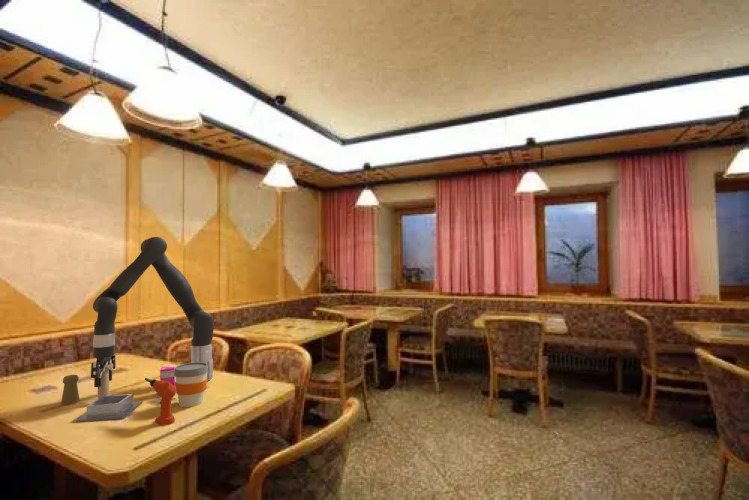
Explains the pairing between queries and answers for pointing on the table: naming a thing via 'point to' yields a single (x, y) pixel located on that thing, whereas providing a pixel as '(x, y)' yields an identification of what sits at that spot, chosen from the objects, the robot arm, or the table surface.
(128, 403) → the chuck block
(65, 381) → the pepper shaker
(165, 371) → the supplement box
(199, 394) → the reusable coffee cup
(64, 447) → the table surface
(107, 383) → the handle
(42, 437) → the table surface
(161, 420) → the toy drill
